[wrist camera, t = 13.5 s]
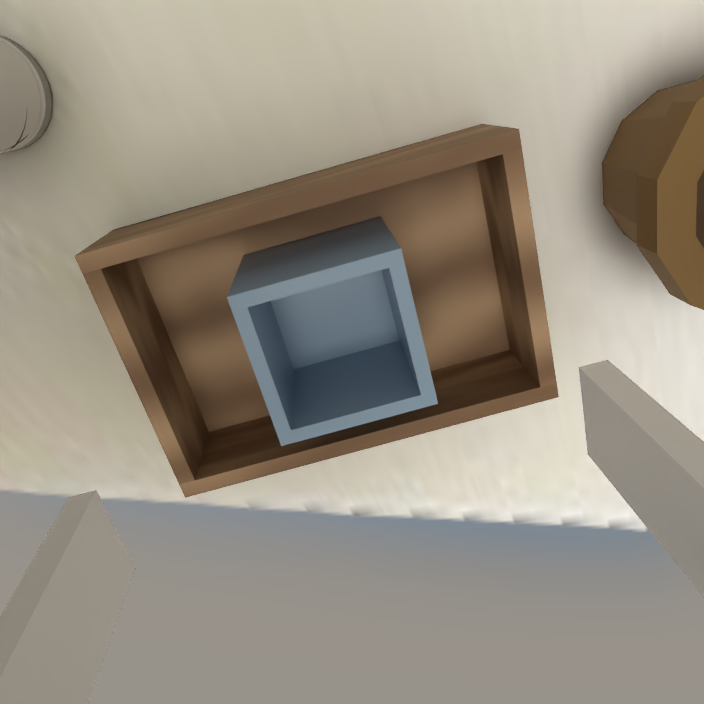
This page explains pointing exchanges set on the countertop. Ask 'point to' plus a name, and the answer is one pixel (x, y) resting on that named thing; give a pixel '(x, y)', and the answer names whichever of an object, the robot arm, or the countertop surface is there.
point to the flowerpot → (663, 186)
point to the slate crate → (332, 331)
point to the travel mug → (21, 97)
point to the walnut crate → (310, 219)
